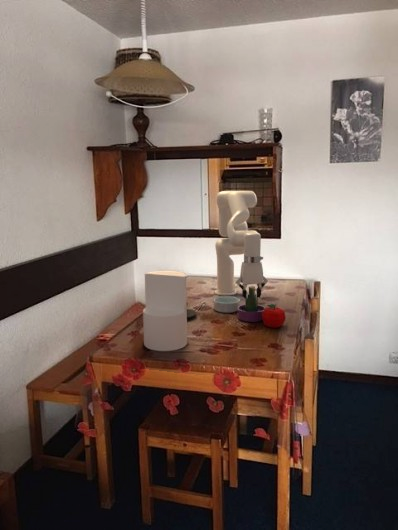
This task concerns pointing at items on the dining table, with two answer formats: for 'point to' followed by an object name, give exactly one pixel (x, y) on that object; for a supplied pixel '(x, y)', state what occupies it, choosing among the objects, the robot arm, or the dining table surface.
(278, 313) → the apple
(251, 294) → the bottle
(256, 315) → the plum bowl
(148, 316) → the cylinder
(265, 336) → the dining table surface
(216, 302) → the pale bowl
